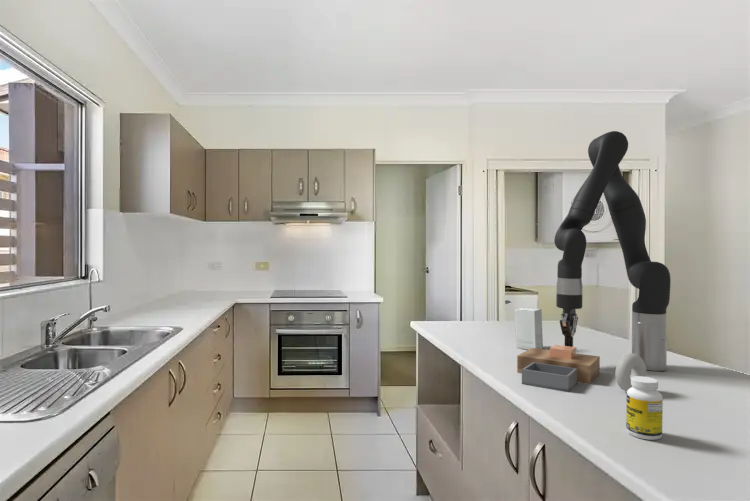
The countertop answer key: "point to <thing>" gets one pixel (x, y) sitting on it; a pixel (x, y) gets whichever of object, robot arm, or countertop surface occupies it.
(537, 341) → the skincare box
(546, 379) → the bin
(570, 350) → the tile
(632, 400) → the pill bottle
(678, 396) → the countertop surface
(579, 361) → the chopping block
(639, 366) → the donut
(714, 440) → the countertop surface
